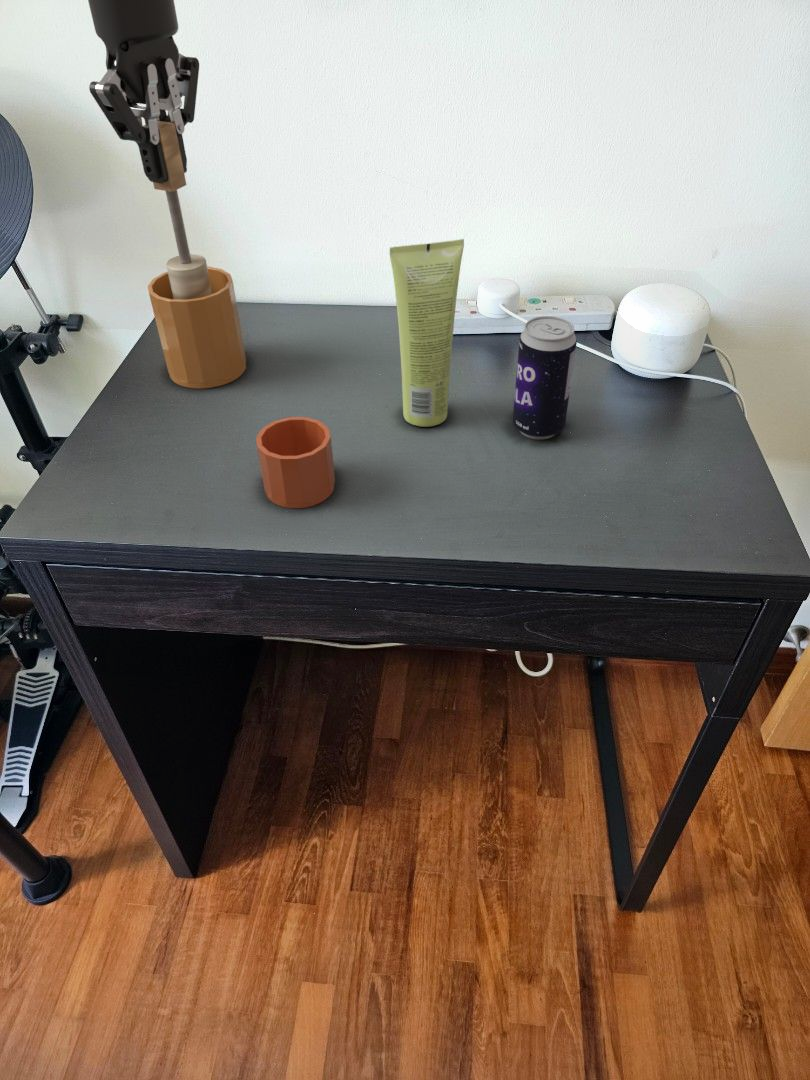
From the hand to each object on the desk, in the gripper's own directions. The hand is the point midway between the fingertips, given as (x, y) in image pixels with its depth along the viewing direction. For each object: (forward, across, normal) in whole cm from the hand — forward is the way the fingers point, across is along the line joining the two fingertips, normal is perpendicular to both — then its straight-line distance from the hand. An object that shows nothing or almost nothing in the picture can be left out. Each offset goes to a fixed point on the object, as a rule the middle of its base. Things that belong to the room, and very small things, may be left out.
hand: (167, 176), depth 82 cm
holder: (+23, +15, +23) cm, 36 cm away
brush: (+15, 0, 0) cm, 15 cm away
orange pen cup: (+23, 0, 0) cm, 23 cm away
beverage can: (+23, -5, +41) cm, 47 cm away
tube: (+23, -2, +29) cm, 37 cm away
